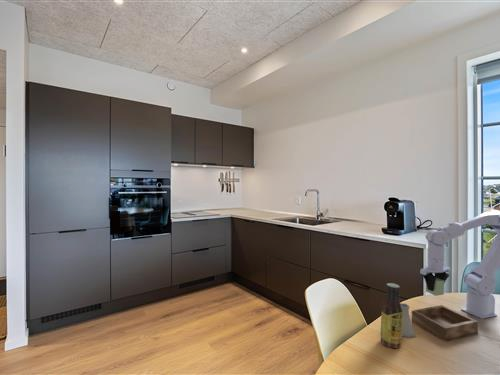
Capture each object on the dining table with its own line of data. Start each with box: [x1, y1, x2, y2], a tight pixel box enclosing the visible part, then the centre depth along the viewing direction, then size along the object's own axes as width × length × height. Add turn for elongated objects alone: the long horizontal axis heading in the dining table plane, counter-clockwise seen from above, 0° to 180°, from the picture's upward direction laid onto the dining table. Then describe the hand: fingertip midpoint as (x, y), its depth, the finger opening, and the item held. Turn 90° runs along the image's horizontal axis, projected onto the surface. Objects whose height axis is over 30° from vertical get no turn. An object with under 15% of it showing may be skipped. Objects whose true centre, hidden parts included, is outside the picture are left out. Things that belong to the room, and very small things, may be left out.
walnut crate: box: [411, 304, 479, 342], centre depth 98 cm, size 16×13×4 cm
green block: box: [425, 278, 445, 297], centre depth 113 cm, size 4×4×6 cm
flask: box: [400, 302, 416, 338], centre depth 95 cm, size 7×7×10 cm
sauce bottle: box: [380, 282, 403, 349], centre depth 88 cm, size 6×6×20 cm
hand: (434, 289), depth 112 cm, fingers closed on green block, 4 cm apart
